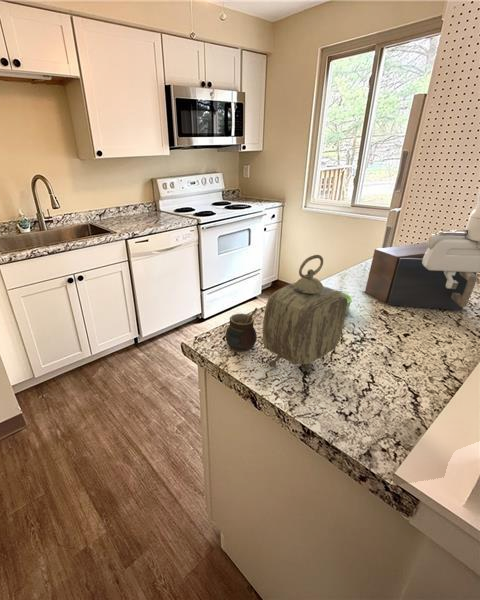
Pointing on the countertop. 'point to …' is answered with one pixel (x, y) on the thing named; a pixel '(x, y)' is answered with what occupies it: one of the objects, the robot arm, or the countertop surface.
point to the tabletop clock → (303, 319)
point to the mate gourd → (241, 332)
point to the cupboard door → (429, 287)
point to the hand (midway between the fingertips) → (470, 289)
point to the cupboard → (389, 268)
